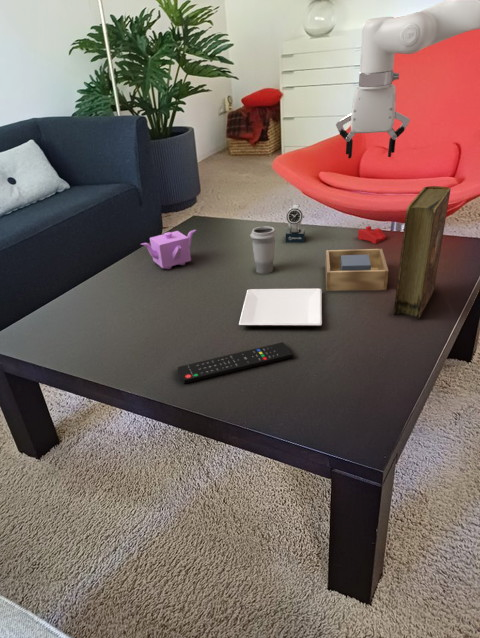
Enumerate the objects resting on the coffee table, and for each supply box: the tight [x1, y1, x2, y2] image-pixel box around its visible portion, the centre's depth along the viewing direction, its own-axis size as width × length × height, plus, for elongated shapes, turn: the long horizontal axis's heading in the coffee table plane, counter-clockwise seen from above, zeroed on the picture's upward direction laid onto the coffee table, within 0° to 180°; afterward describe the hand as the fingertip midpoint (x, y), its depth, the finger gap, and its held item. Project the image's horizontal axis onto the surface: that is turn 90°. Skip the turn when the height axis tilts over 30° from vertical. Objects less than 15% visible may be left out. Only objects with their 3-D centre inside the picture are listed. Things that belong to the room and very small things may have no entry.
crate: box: [324, 248, 390, 292], centre depth 136 cm, size 15×15×6 cm
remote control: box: [177, 341, 294, 384], centre depth 109 cm, size 5×24×1 cm, turn 106°
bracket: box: [357, 225, 387, 245], centre depth 159 cm, size 6×5×3 cm
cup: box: [249, 225, 277, 275], centre depth 145 cm, size 7×7×12 cm
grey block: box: [340, 255, 371, 271], centre depth 136 cm, size 7×7×5 cm
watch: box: [285, 204, 306, 244], centre depth 162 cm, size 6×8×11 cm
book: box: [393, 185, 452, 320], centre depth 117 cm, size 16×6×25 cm, turn 148°
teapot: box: [140, 229, 197, 270], centre depth 156 cm, size 18×13×10 cm
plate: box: [238, 288, 323, 327], centre depth 126 cm, size 19×19×2 cm
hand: (369, 156), depth 133 cm, fingers open, 9 cm apart
